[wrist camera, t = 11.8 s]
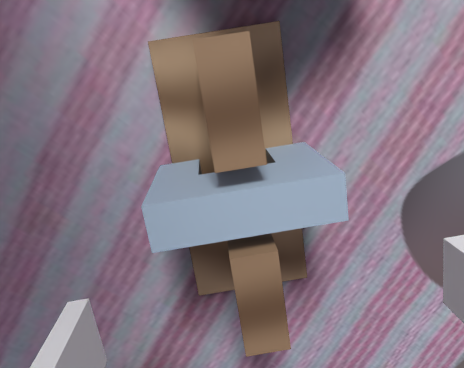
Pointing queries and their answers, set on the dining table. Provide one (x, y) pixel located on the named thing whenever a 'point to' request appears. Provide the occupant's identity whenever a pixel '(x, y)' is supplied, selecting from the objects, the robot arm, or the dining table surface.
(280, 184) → the gray u-shaped block
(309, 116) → the dining table surface
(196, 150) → the walnut notched stand
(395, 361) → the dining table surface
